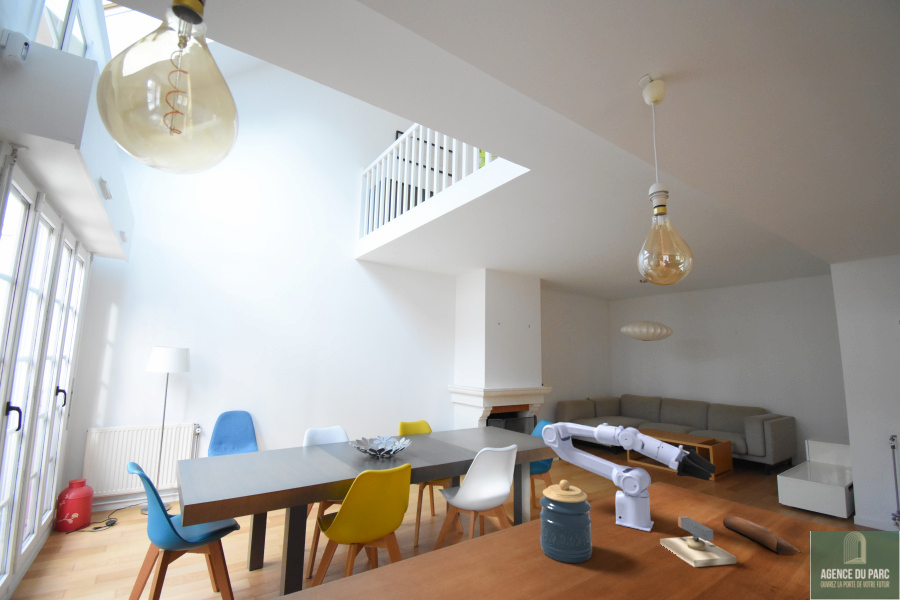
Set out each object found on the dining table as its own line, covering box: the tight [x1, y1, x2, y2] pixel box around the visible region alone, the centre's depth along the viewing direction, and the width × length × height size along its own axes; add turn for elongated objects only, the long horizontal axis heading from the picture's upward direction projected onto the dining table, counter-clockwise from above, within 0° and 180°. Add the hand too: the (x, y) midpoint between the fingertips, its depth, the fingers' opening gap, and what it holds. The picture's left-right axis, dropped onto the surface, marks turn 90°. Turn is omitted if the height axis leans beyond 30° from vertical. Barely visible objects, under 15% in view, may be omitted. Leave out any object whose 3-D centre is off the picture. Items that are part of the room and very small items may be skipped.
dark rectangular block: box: [677, 515, 715, 542], centre depth 107 cm, size 2×9×4 cm, turn 11°
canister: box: [539, 479, 593, 564], centre depth 107 cm, size 13×13×18 cm
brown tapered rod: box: [722, 515, 801, 555], centre depth 116 cm, size 18×7×7 cm
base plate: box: [659, 535, 738, 568], centre depth 106 cm, size 12×12×3 cm
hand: (712, 473), depth 113 cm, fingers open, 7 cm apart
